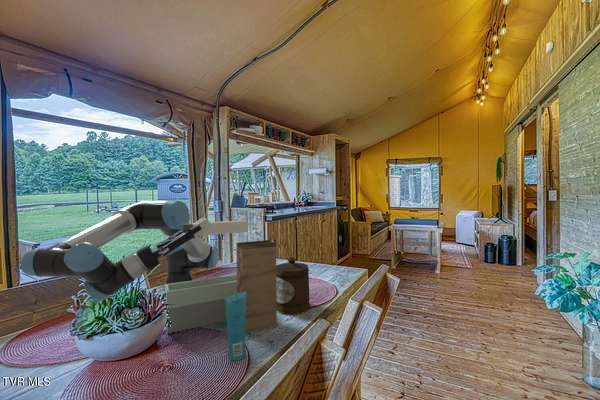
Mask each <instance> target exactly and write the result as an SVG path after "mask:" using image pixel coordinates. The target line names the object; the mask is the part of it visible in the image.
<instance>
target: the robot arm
mask: <svg viewBox="0 0 600 400" xmlns="http://www.w3.org/2000/svg"><path fill="white" fill-rule="evenodd" d="M189 211H190V209H189V207H188V205H187V204H186V203H185V202H184V201H181V200H173V199H172V200H171V199H170V200H143V201H139V202H135V203H132V204H129V205H128V206H127V205H126V206H125V207H122V208H121V209H118V210H116V211H115V212H114V213H112V216H111V217H108V218H105V220H102V221H100V222H99V223H96V224H94V225H92V226H90V227H87V228H86V229H84V230H81V231H80V232H78V233H76V234H74V235H72V236H70V237H68V238H66V239H64V240H62V241H61V242H57V243H56V244H53V245H51V246H49V247H47V248H36V249H31V250H29V251H27V252H26V253H25V254H24V255H23V256H22V258H21V260H20V268H21V271H22V273H24V274H25V275H26V276H31V277H38V278H43V277H45V278H46V277H50V278H52V277H53V278H55V277H58V278H60V277H61V278H81V279H83V280H84V283H83V288H84V290H85V292H86V293H87V295H89V296H90V298H91V299H92V300H93V301H96V302H101V301H103V300H106V299H107V298H109V297H110V296H113V295H114V294H115V293H117V292H118V291H120V290H122V289H123V288H125V287H126V286H128V285H129V284H131V283H133V281H135V280H136V279H142V278H143V275H145V274H146V273H147V272H148V270H149V271H152V270H153V269H154V268H156V267H157V266H159V265H160V264H161V262H160V259H158V258H160V257H165V256H166V271H167V272H166V274H167V275H166V278H165V281H164V283H163V291H164V292H165V284H172V283H179V282H186V281H193V280H194V277H193V274H192V269H198V270H213V269H215V268H216V266H217V263H218V261H219V249H218V246H216V245H215V246H214V245H213V246H211V245H210V244H209V243H208V242H206V241H204V240H202V239H201V237H200V236H194V235H196V234H197V233H199V232H201V231H202V230H204V229H205V228H207V227H208V226H210V225H211V224H210V222H211V221H209V219H208V218H207V217H206V218H205V217H204V216H203V217H202V218H200V219H198V220H197V221H195V222H194V223H198V224H196V225H194V226H193V227H191V228H189V229H190V230H187V231H186V232H184V233H182V224H186V223H190V220H191V213H190V212H189ZM138 230H159V231H161V232H162V233H163V234H164V235H165V236H167V237H166V238H165V239H164V240H161V241H159V242H158V243H156V245H155V246H154V247H153V248H151V247H150V246H149V245H147V244H146V245H143V246H141V247H140V248H138V249H137V250H136V252H131V253H130V254H127V256H125V257H123V258H122V259H119V261H117V262H112V260H110V259H109V257H107V255H106V254H104V252H103V251H102V250H101V249H100V248H102V247H104V246H106V245H107V244H109V243H110V242H112V241H114V240H116V239H117V238H119V237H120V236H122V235H124V234H131V233H133V232H134V231H138Z"/></svg>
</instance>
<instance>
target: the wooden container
mask: <svg viewBox="0 0 600 400" xmlns="http://www.w3.org/2000/svg"><path fill="white" fill-rule="evenodd" d="M296 261H297V260H296V258H295V257H291V256H290V257H289V258H288V259H287V262H283V263H279V264H276V289H277V313H280V314H283V315H290V316H291V315H301V314H304V313H306V312H308V311H309V310H310V279H309V278H310V276H309V274H310V273H309V272H310V271H309V269H310V268H309V265H308V264H306V263H301V262H296Z"/></svg>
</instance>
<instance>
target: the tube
mask: <svg viewBox="0 0 600 400" xmlns="http://www.w3.org/2000/svg"><path fill="white" fill-rule="evenodd" d="M225 306H226V318H227V321H226V329H227V345H228V358H230V359H229V360H231V361H240V360H242V359H245V356H246V334H245V315H246V291H245V292H241V293H238V294H234V295H230V296H227V297H225Z"/></svg>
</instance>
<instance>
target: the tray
mask: <svg viewBox="0 0 600 400" xmlns="http://www.w3.org/2000/svg"><path fill="white" fill-rule="evenodd" d="M165 293H166V297H165V296H164V300H165V299H166V302H167V303H168V304H175V305H168V306H167V307H168V308H169V312H168V315H170V318H168V320H169V321H173V324H172V326H171V327H170V328H169V327H168V326H167V329H166V333H167V335H168V333H170V334H173V333H172V332H175V333H177V331H179V332H183V331H182V330H184V331H187V330H186V329H188V330H193V329H197V328H201V327H206V326H210V325H214V324H220V323H224V322H227V318H226V306H225V297H227V296H230V295H234V294H237V273H236V274H230V275H228V274H227V275H221V276H213V277H208V278H201V279H195V280H193V281H186V282H179V283H172V284H165V291H164V294H165ZM192 328H193V329H192Z"/></svg>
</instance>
